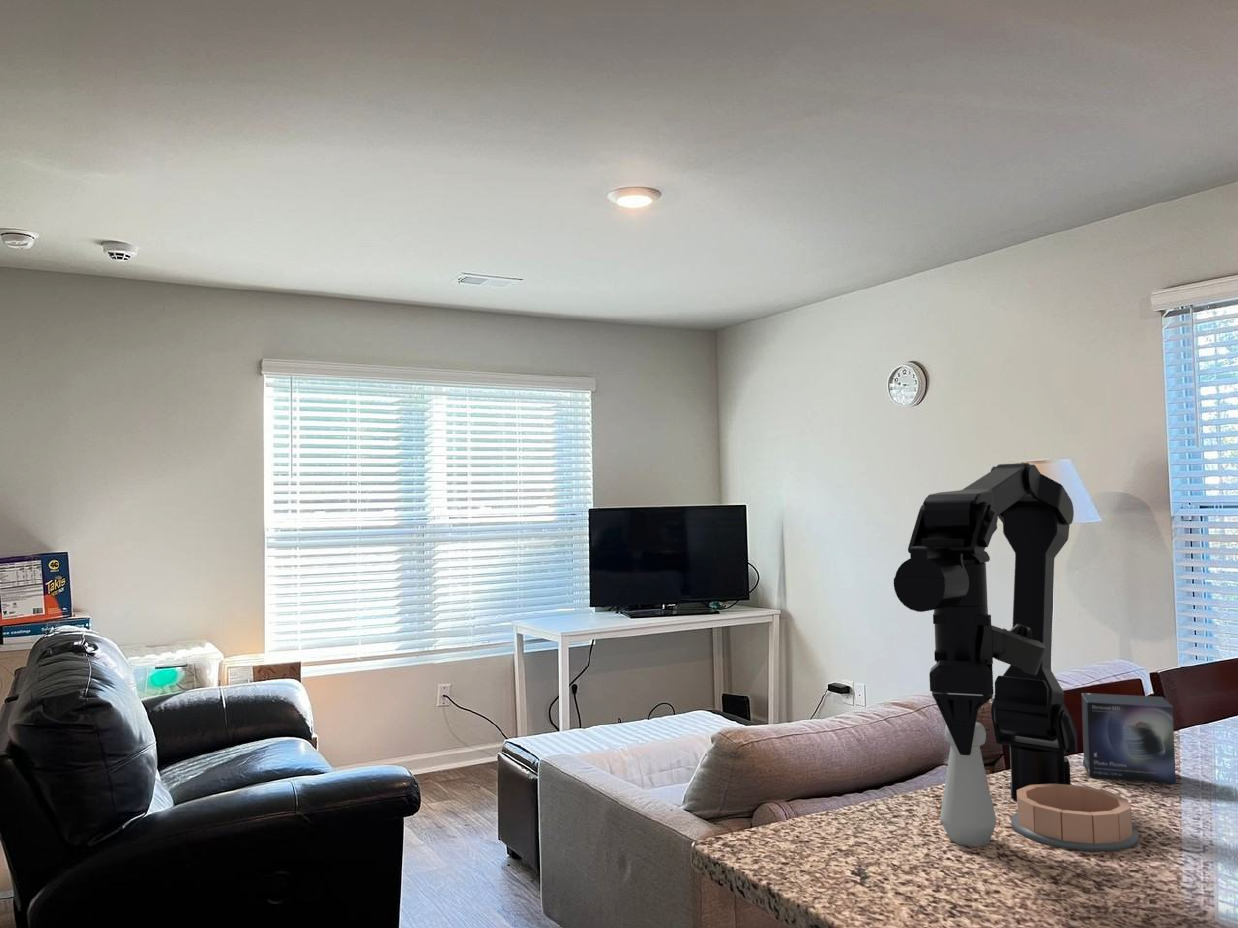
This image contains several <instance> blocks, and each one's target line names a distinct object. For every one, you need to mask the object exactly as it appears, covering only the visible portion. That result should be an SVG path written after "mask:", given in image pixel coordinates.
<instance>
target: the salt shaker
mask: <svg viewBox="0 0 1238 928" xmlns="http://www.w3.org/2000/svg"><path fill="white" fill-rule="evenodd" d="M986 736H987V732H986V728H985V726H984V725H983V724H982V723H980V722H978V721H976V725H975V731H974V737H973V743H972V749H971V754H970V755H961V754H959V752H958V749H957V747H956V745H955V743H954V740H953V738H952V736H951V734H950V731H949V729H948V727H947V725H946V724H945V726H944V739H945V740H946V742H947V743H949V744H950V747H949V755H948V760H947V761H948V763H947V769H946V773H945V774H946V775H945V782H944V788H943V795H942V802H941V809H940V816H939V817H940V821H941V824H942V825H943V828H944V830H945V833H946V835H947V837H948V839H949V840H950V841H952V842H954V843H956V844H957V845H960V846H967V847H974V848H977V847H982V846H987V845H989V844H990V841H991V839H992V836H993V834H994V830H995V828H996V825H997V816H996V811H995V808H994V803H993V800H992V795H991V790H990V787H989V786H990V785H989V781H988V778H987V773H986V770H985V765H984V761H983V756H982V751H981V746H984V744H985V743H986V739H987V737H986Z"/></svg>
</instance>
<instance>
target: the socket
mask: <svg viewBox="0 0 1238 928" xmlns="http://www.w3.org/2000/svg"><path fill="white" fill-rule="evenodd" d="M1016 804H1017V805H1016V807H1017V808H1016V809H1017V812H1015V813H1014V814H1012V816H1011V818H1010V822H1011V824H1010V825H1011V828H1012V829H1013V830H1014V831H1015V833H1018V834H1019V835H1020V836H1023V837H1025V838H1026V839H1029V840H1032V841H1035V842H1037V843H1040V844H1043V845H1048V846H1052V847H1055V848H1061V849H1068V850H1074V851H1084V852H1085V851H1086V852H1115V851H1116V852H1117V851H1122V850H1127V849H1131V848H1133V847H1135V846H1137V845H1138V844H1139V841H1140V833H1139V831H1138V829H1137V828H1136V827H1134V826H1133V820H1132V819H1133V818H1132V806H1131V804H1130V802H1129V800H1128V799H1127V798H1125V797H1123V796H1120V795H1118V794H1115V793H1113V792H1111V791H1108V790H1103V789H1100V788H1099V789H1098V788H1095V787H1089V786H1084V785H1077V784H1071V785H1066V784H1037V785H1028V786H1026V787H1023V788H1021V789H1018V790H1017V799H1016Z"/></svg>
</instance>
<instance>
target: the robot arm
mask: <svg viewBox="0 0 1238 928" xmlns="http://www.w3.org/2000/svg"><path fill="white" fill-rule="evenodd" d="M1074 512H1075V511H1074V505H1073V502H1072V499H1071V497H1070V496H1069V494H1068V493H1067V490H1066V489H1065V488H1064V486H1063V485H1062V484H1061V483H1059V482H1057V481H1056V480H1054V479H1052V478H1049V477H1048V476H1047V475H1045V474H1042V473H1041V472H1040V470H1039V469H1038V467H1037V466H1036V465H1035V464H1030V463H1029V462H1020V463H1018V462H1016V463H999V464H997V466H992V468H991V469H990V472H987V473H986V474H984V475H983V476H981V477H980V478H978V479H977V480H975V481H974V482H972V483H970V484H969V485H968V486H966V487H964V488H963V489H959V490H951V491H942V492H935V493H932V494H931V493H930V494H928V495H927V496H926V497H925V498H924V500H923V502H922V505H921V506H920V508H919V510H918V514H917V518H916V520H915V524H914V527H913V531H912V533H911V536H910V537H911V538H910V540H909V544H908V547H907V552H908V553H909V554H910V558H909V559H907V560H905V561H904V562H902V563H901V564H900V566H899V567H898V568H897V571H895V572H896V573H895V576H894V578H893V588H894V592H895V594H896V597H897V598H898V600H899V601H900V603H901V604H902V605H903V606H904V607H906V608H908V609H909V610H911V611H914V612H919V613H924V612H929V611H933V614H932V619H933V620H932V623H933V625H934V645H935V649H934V654H933V655H934V662H936V663H935V664H934V665H933V666H932V667H931V668H930V671H929V675H928V676H929V692H931V695H932V697H933V699H934V701H935V703H936V706H937V708H938V710H939V712H940V714H941V716H942V718H943V720H944V722H945V726H946V725H947V727H948V729H949V731H950V734H951V736H952V738H953V740H954V743H955V745H956V747H957V749H958V752H959V754H961V755H970V754H971V749H972V743H973V737H974V731H975V725H976V722H977V717H978V712H979V710H980V708H982V706H983V705H985V704H986V703H987V702H989V701H991V700H992V699H993V700H992V702H991V708H990V715H991V720H992V726H993V730H994V736H995V740H996V745H1000V746H1002V745H1005V746H1009V758H1010V760H1009V761H1010V783H1009V787H1010V788H1009V789H1010V798H1011V799H1013V800H1017V790H1018V789H1021V788H1023V787H1026V786H1028V785H1037V784H1066V785H1072V784H1071V783H1072V782H1071V765H1070V764H1071V763H1070V760H1069V758H1067V757H1065V756H1066V755H1067V754H1076V753H1078V741H1079V740H1078V730H1077V728H1076V726H1075V723H1074V721H1073V718H1072V717H1071V714H1070V713H1069V710H1068V708H1067V705H1065V692H1064V690H1063V688H1062V687H1061V685H1060V683H1059V681H1058V680H1057V678H1056V676H1055V674H1054V673H1053V671H1052V647H1053V645H1052V644H1053V643H1052V642H1053V641H1052V640H1053V614H1054V613H1053V611H1054V610H1053V609H1054V608H1053V607H1054V575H1055V558H1056V557H1057V556H1058V554H1059V553H1060V551H1061V550H1062V548H1063V547H1064V546H1065V545H1066V543H1067V542H1068V540H1069V536H1070V535H1069V534H1070V526H1071V525H1072V523H1073V522H1074V514H1075V513H1074ZM998 520H1000V521H1001V523H1002V532H1003V536H1004V537H1005V538H1006V540H1007V542H1008V544H1009V545H1010V546H1011V548H1012V550H1013V552H1014V556H1015V557H1014V577H1013V578H1014V582H1013V602H1012V604H1013V606H1012V627H1011V629H1010V630H1008V629H1006V628H1004V627H1003V628H1001V627H998V626H995V625H992V615H991V614H989V607H988V603H989V602H988V585H987V580H988V579H987V563H988V562H990V561H991V558H990V557H991V556H990V555H989V553H988V552H987V551H986V548H988V547H989V544H990V542H991V540H992V537H993V535H994V533H995V532H996V531H997V529H998ZM994 660H997V661H1000V662H1002V663H1004V664H1008V665H1009V667H1008V668H1007V669H1006V670H1005V672H1004V673H1003V674H1002V675H997V677H996V679H995V681H994V675H993V674H994V673H993V664H994ZM993 695H994V698H993Z"/></svg>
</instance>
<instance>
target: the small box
mask: <svg viewBox="0 0 1238 928" xmlns="http://www.w3.org/2000/svg"><path fill="white" fill-rule="evenodd" d="M1080 695H1081V713H1082V714H1081V719H1082V720H1081V721H1082V741H1083V742H1082V744H1083V745H1082V746H1083V761H1082V766H1083V767H1084V768H1085V770H1086V773H1087V775H1088V776H1089V777H1090V778H1098V779H1099V778H1100V779H1110V780H1111V779H1112V780H1121V781H1122V780H1123V781H1124V780H1125V781H1135V782H1145V783H1146V782H1148V783H1158V784H1169V785H1170V784H1171V785H1176V784H1177V779H1176V778H1177V777H1176V757H1175V756H1176V755H1175V752H1176V751H1175V731H1174V730H1175V729H1174V707H1173V705H1172V704H1171V703H1170V702H1169V701H1168V700H1167V699H1165V697H1163V696H1152V695H1151V696H1149V695H1131V694H1130V695H1129V694H1111V693H1110V694H1109V693H1094V692H1093V693H1092V692H1081V694H1080Z"/></svg>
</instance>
